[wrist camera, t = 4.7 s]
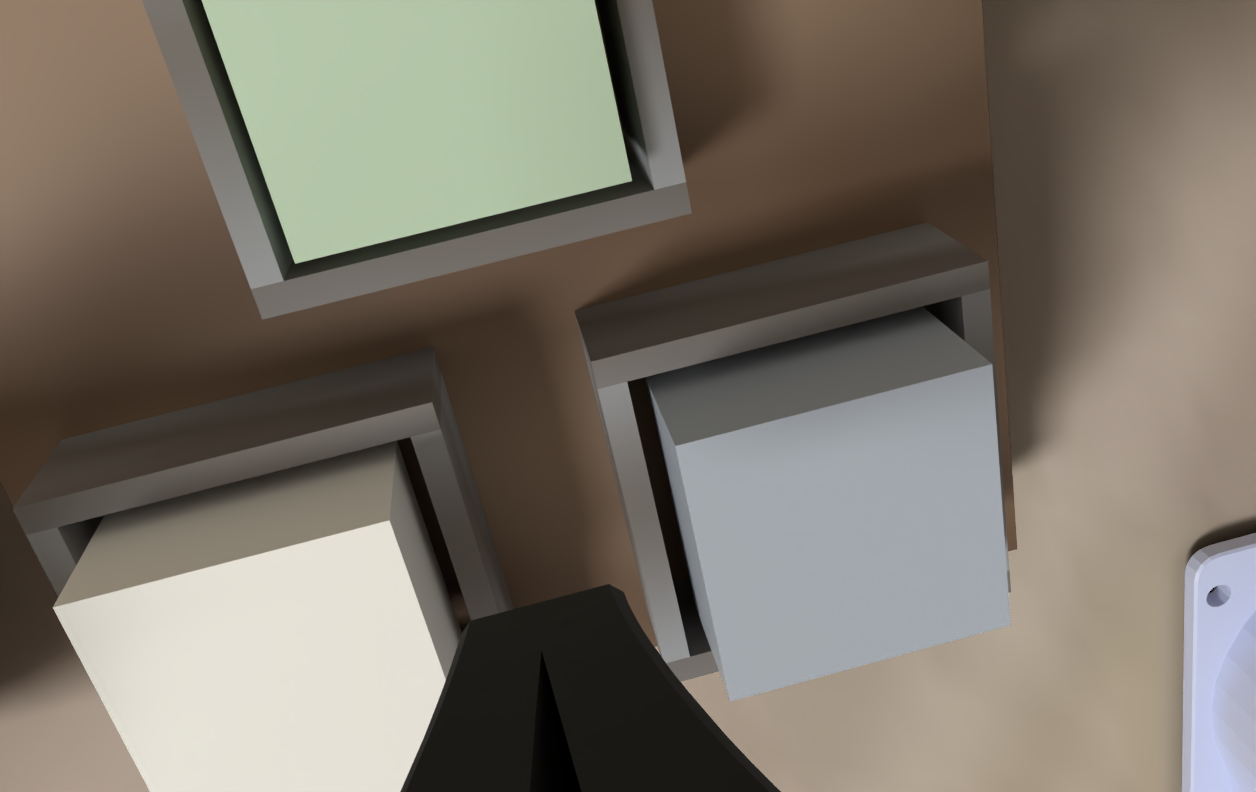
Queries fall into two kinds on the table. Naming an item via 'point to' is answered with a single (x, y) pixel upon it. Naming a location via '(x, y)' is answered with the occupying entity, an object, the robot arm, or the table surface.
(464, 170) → the green button
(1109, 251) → the table surface
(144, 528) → the white button
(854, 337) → the grey button
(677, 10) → the console
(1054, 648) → the table surface
